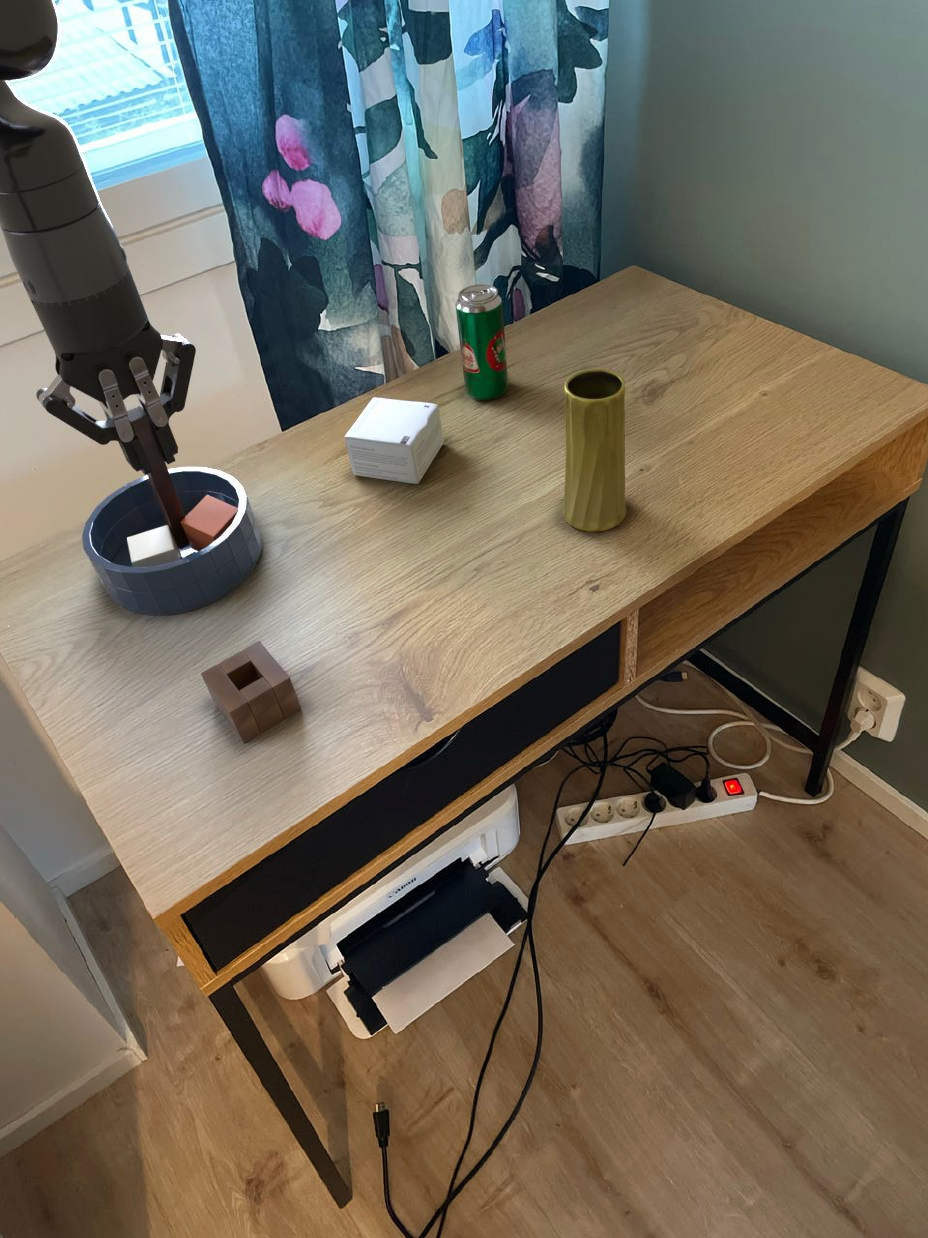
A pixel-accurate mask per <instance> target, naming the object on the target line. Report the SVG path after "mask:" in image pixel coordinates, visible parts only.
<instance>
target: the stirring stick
mask: <svg viewBox="0 0 928 1238" xmlns="http://www.w3.org/2000/svg"><path fill="white" fill-rule="evenodd" d="M127 413H128V415H127V416H128V419H129V422H130V425H131V427H132V430H133V433H134V434H135V435H136V436H137V437H138V438H139V440H140V442H141V445H142V447H143V449H144V452H145V454H146V456H147V459H148V461H149V463H150V466H151V468H152V471H153V472H151V473H149V474H147V476H148V478H149V481H150V483H151V486H152V488H153V491H154V493H155V496H156V499H157V501H158V504H159V506H160V509H161V511H162V514H163V516H164V519H165V521H166V524H167V525H169V527H170V530H171V532H172V534H173V537H174V539H175V541H176V543H177V546H178V548H179V549H182V548H184V547H186V546H188V545H190V543H189V541H188V538H187V536H186V533H185V531H184V529H183V526H182V524H181V521H182V520H183V519H184V518H185V515H184V512H183V509H182V507H181V504H180V501H179V498H178V496H177V493H176V490H175V488H174V485H173V482H172V479H171V477H170V474H169V471H168V469H169V468H168V466H167V463H166V462H165V461H164V459H163V456H162V453H161V451H160V448H159V445H158V442H157V440H156V437H155V434H154V432H153V429H152V425H151V422H150V419H149V417H148V415H147V413H146V412H145V411H144V410H143V409H142V407H141V405H138V406H136V407H134V408H132V409H129V410H127Z"/></svg>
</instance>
